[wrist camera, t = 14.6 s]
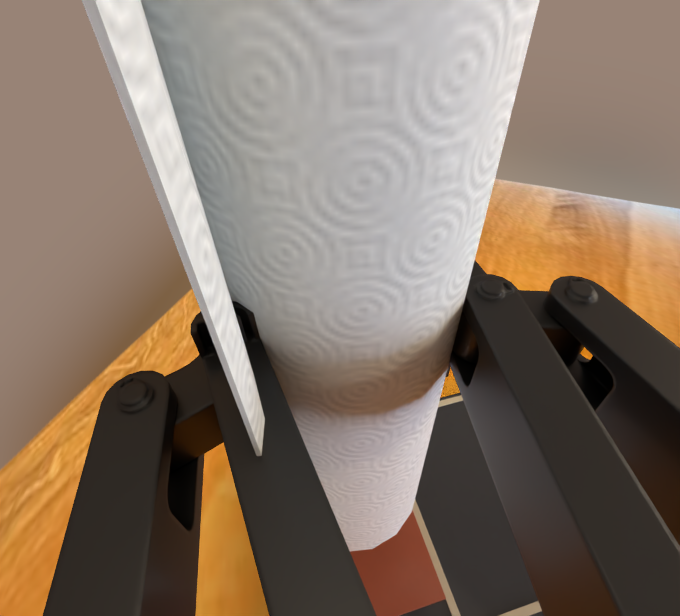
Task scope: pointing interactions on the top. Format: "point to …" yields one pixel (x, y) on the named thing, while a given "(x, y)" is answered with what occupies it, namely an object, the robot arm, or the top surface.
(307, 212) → the paper towel roll
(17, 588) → the top surface
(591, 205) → the top surface
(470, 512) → the grid board
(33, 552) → the top surface
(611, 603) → the robot arm
